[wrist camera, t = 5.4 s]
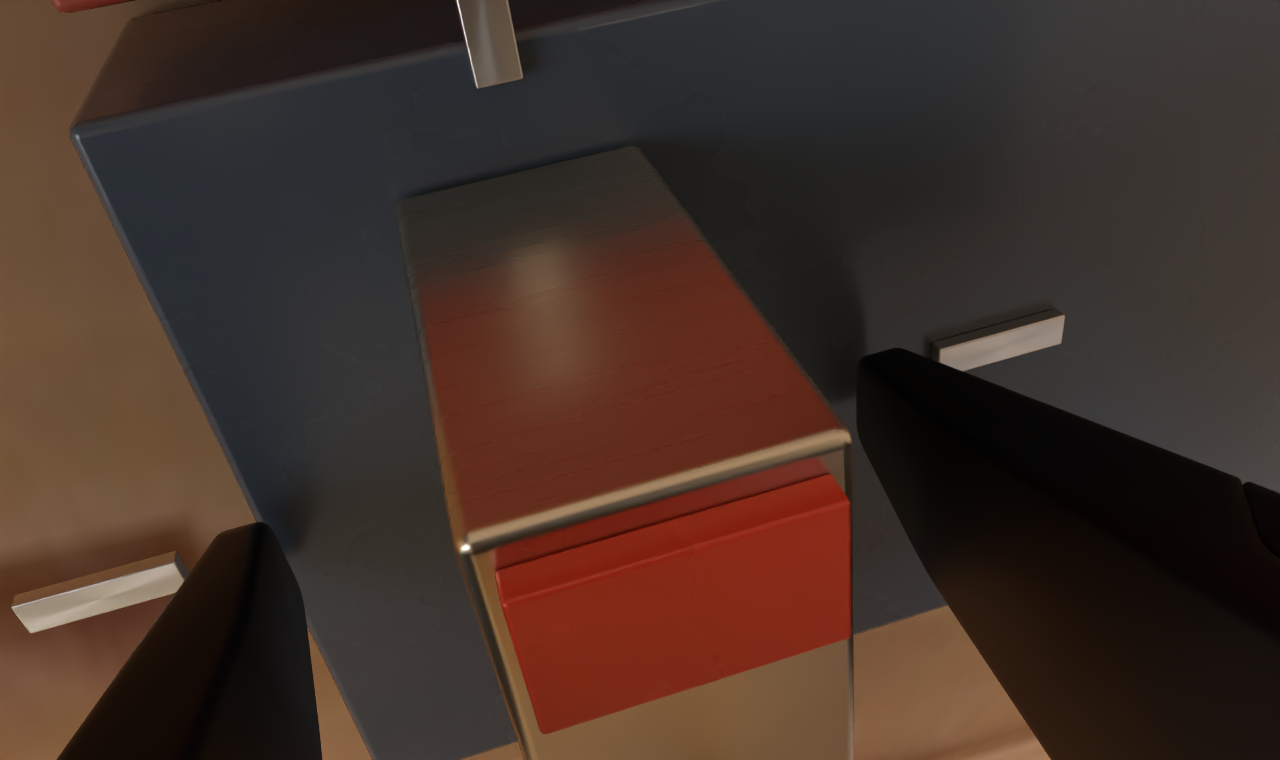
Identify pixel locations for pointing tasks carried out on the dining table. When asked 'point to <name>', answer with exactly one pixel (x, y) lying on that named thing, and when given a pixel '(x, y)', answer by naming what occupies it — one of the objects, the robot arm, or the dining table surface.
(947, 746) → the dining table surface
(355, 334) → the dark grey panel
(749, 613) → the tan and red box
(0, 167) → the dining table surface
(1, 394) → the dining table surface
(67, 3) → the button box
